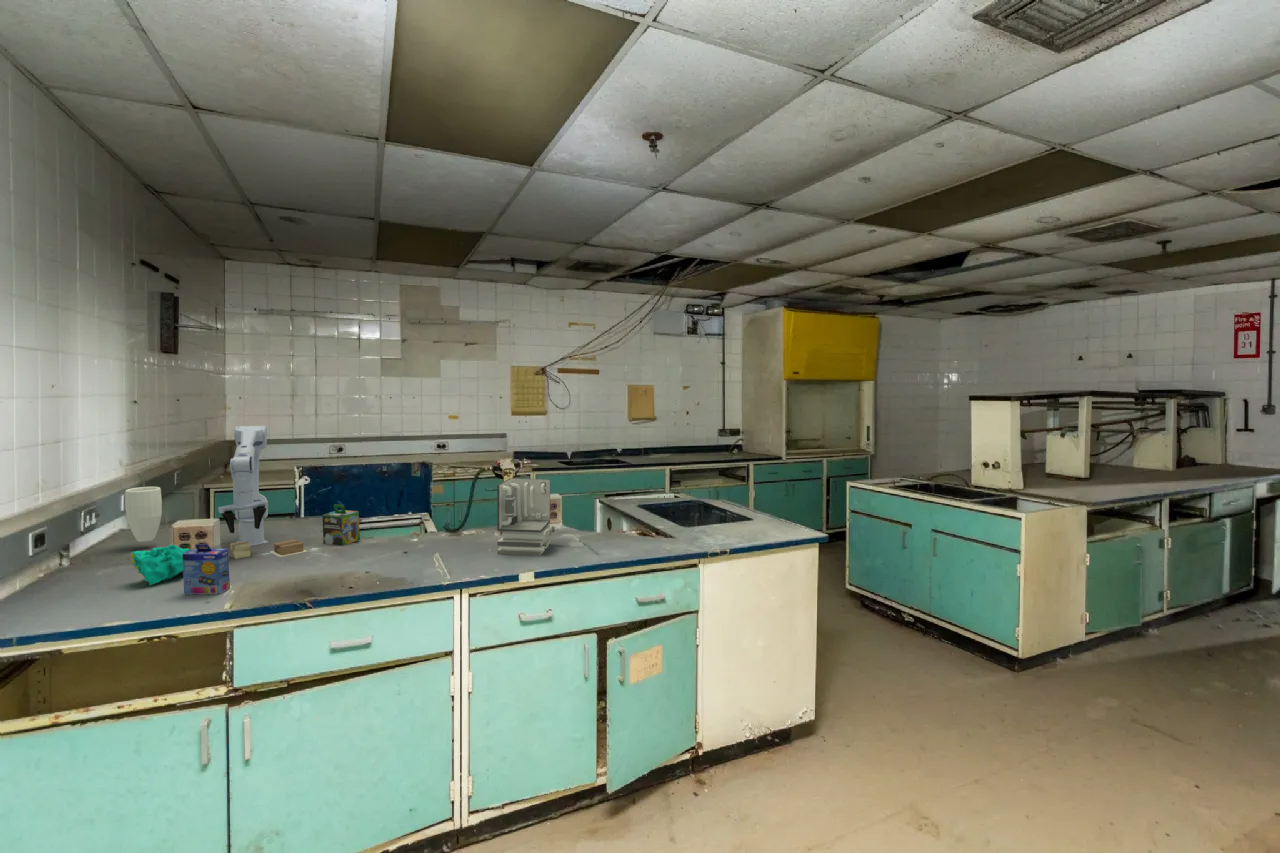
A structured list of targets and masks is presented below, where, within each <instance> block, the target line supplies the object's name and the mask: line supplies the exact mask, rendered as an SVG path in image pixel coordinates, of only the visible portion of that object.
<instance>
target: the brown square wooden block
mask: <svg viewBox="0 0 1280 853" xmlns="http://www.w3.org/2000/svg"><path fill="white" fill-rule="evenodd" d="M304 550H305V548H304V542H302V541H299V540H297V539H290V540H284V541H280V542H274V543H273V551H274V552H276V553H278V554H280V555H287V554H292V553H297V552H302V551H304ZM302 553H303V552H302ZM297 554H298V553H297ZM292 555H293V554H292ZM287 556H288V555H287Z"/></svg>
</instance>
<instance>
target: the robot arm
mask: <svg viewBox="0 0 1280 853" xmlns="http://www.w3.org/2000/svg"><path fill="white" fill-rule="evenodd" d="M267 431H268V429H267V426H265V425H263V424H262V425H236V426H235V427H234V432H233V434H234V436H233V437H234V441H235V444H236V449H235V450H234V455H233V458H232V457H231V458H230V461H229V470H230V473H231V479H232V491H233V492H232V496H233V498H232V499H233V503H232V504H227V505H223V506H222V505H221V506H218V507H217V511H218V513H219V514H220V515H221V516H222V517H223V519H224V521H225V522H226V525H227V528H228V531H229V533H230V534H234V533H235V519H236V520H237V521H239V522H238V526H237V533H238V534H237V536H238V540H237V541H235V543H237V542H243V541H246V542H248V543H250V547H252V546H257V545H261V544H262V545H263V544H267V543H269V540H266V539H265V529H264V528H265V526H264V525H265V523H264V519H266V518H267V517H268V512H269V501H268V499H267V497H266V496H265V495H263V494H262V493H260V489H259V488H260V454H261V451H263V450H265V449H266V448H267V443H268V437H267V436H268V432H267Z"/></svg>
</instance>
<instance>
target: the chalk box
mask: <svg viewBox="0 0 1280 853" xmlns="http://www.w3.org/2000/svg"><path fill="white" fill-rule="evenodd" d="M338 508H340V509H338ZM333 509H334V511H330V512H328V513H324V514H322V516H321V518H322V537H323V538H322V540H323V541H322V543H323V545H324V544H325V545H330V546H331V545H333V546H346V545H349V544H351V543H352V544H353V543H356V542H358V541H361V536H360V535H361V534H360V532H361V531H360V515H359V514H360V512H359V511H360V510H359V511H358V510H346V508H345V505H343V504H333Z"/></svg>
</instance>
